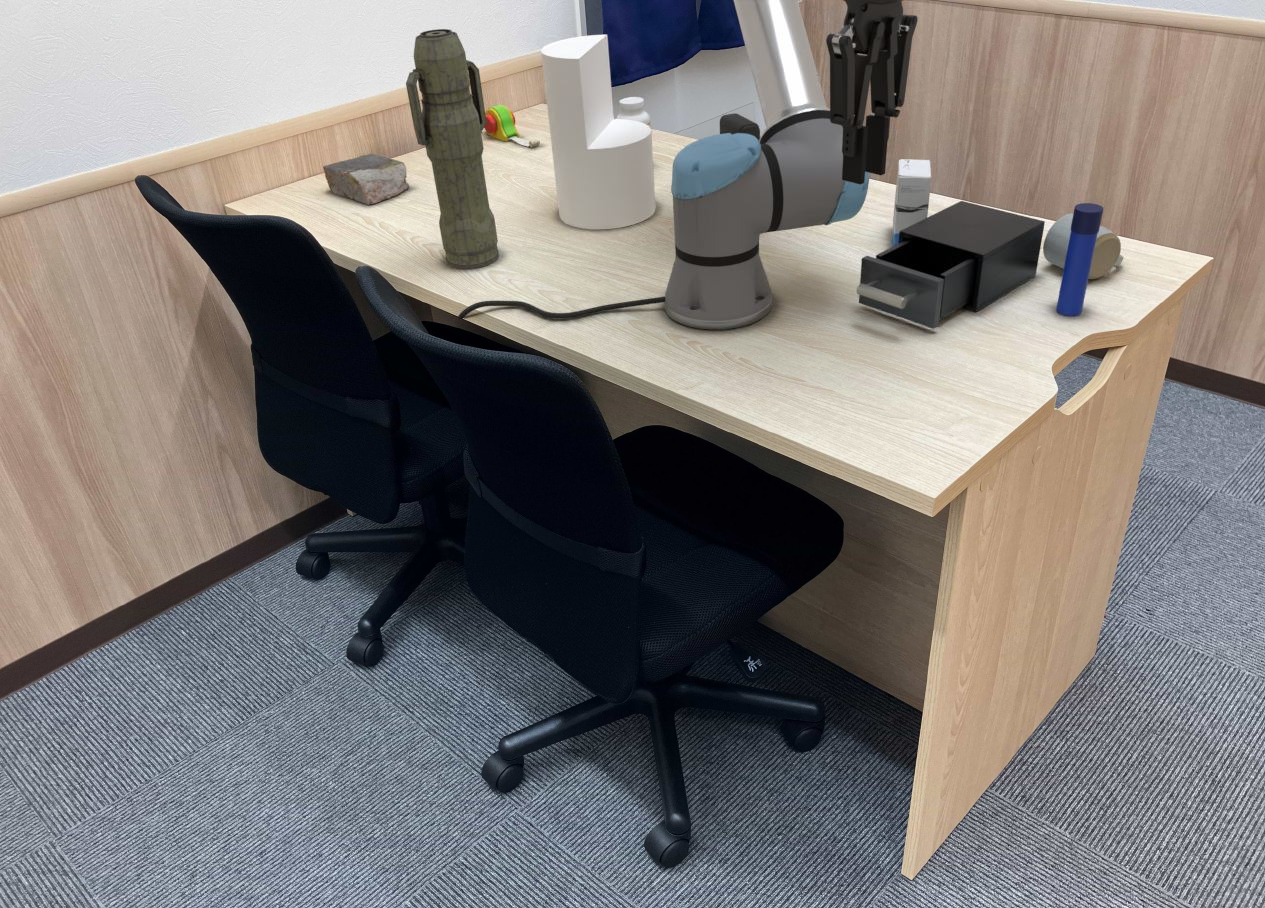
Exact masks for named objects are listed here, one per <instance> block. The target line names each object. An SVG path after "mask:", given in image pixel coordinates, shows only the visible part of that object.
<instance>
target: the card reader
mask: <svg viewBox="0 0 1265 908" xmlns="http://www.w3.org/2000/svg"><path fill="white" fill-rule="evenodd" d="M726 133H731V135H732V134H736V133H745V134H750V135H753V136H755V137H756V138H757V139H758V141H759V140H760V137H761V129H760V126H759V124H758V123H757V122H754V121H753V120H751V119H749V118H747V117H745V116H743V115H741V114H738V113H728V114H723V115H721V117H720V120H719V134H726Z"/></svg>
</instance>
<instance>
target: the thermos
mask: <svg viewBox="0 0 1265 908" xmlns="http://www.w3.org/2000/svg"><path fill="white" fill-rule="evenodd" d="M413 60H414V69H412V71H410V72H409V73H408V76H407V79H406V82H405V85H406V91H407V97H408V103H409V109H410V113H411V119H412V125H413V130H414V134H415V137H416V141H417V144H418V145H420V146H425V151H426V156H427V158H428V160H429V161H430V162H431V167H432V168H431V169H432V172H433V178H434V184H435V189H436V196H437V201H438V205H439V206H438V207H439V213H440V214H439V221H438V226H439V231H440V237H441V243H442V248H443V250H444V252H445V259H446V265H448V266H449V267H451V268H454V269H458V270H474V269H480V268H483V267H488V266H489V265H491V264H494V263H495V262H496V261H497V260H498V259H499V257H500V251H499V249H498V242H499V240H498V239H499V238H498V233H497V226H496V220H495V215H494V213H493V211H492V209H491V208H490V203H489V195H488V189H487V182H486V176H485V175H486V174H485V170H484V163H483V153H484V141H483V130H485V128H484V127H485V125H486V123H487V121H486V115H485V113H486V110H485V109H486V108H485V103H484V95H483V87H482V82H481V75H480V69H479V67H477V65H476V64H475V63H474V62H473V61H471V60H468V59H467V55H466V51H465V47H464V46H463V44H462V41H461V39H460V37H459V35H458V32H457V31H452V29H447V28H437V29H430V30H426V31H422V32H420V33H419V35H417V36H415V41H414V48H413ZM419 93H421V98H422V99H421V100H420V96H419ZM420 101H421V102H420Z"/></svg>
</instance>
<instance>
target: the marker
mask: <svg viewBox="0 0 1265 908" xmlns="http://www.w3.org/2000/svg"><path fill="white" fill-rule="evenodd" d="M1072 213H1073V218H1072V224H1071V233H1070V239H1069V244H1068V249H1067V255H1066V260H1065V265H1064V269H1063V271H1062V277H1061V282H1060V287H1059V292H1058V296H1057V297H1058V298H1057V302H1056V309H1055V311H1056V312H1057V313H1058V314H1059V315H1062V316H1067V317H1076V316H1077V317H1078V316H1079V315H1081V314H1082V312H1083V307H1084V301H1085V297H1086V292H1087V288H1088V283H1089V279H1088V278H1089V273H1090V268H1091V264H1092V259H1093V254H1094V249H1095V244H1096V239H1097V234H1098V232H1099V229H1100V226H1101V223H1102V218H1103V213H1104V207H1103V206H1102V205H1100V204H1097V203H1091V202H1083V203H1082V202H1081V203H1078V204H1075V205H1074V208H1073V212H1072Z"/></svg>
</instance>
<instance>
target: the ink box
mask: <svg viewBox="0 0 1265 908" xmlns="http://www.w3.org/2000/svg"><path fill="white" fill-rule="evenodd" d="M931 167H932V166H931V160H930V159H912V158H911V159H908V158H901V159H899V160H898V166H897V173H896V174H897V175H896V185H895V195H894V205H893V216H892V217H893V218H892V231H891V232H892V247H893V246H895V245H897V244H898V241H899V231H901V230H903V229H905V228H907V227H909V226H911V225H913V224H915V223H917V222H919V221H921V220H923V219H925V218H927V217H929V204H930V195H931V187H932V186H931V184H932V170H931Z"/></svg>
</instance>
